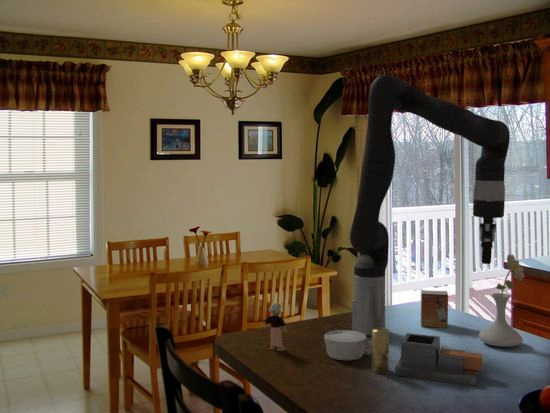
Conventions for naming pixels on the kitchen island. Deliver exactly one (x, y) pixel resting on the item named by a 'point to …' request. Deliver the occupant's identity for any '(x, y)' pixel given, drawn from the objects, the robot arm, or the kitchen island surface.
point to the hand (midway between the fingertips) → (486, 260)
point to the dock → (431, 361)
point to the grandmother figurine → (276, 327)
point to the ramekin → (345, 344)
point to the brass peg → (380, 350)
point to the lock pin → (467, 359)
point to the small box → (434, 309)
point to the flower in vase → (503, 313)
